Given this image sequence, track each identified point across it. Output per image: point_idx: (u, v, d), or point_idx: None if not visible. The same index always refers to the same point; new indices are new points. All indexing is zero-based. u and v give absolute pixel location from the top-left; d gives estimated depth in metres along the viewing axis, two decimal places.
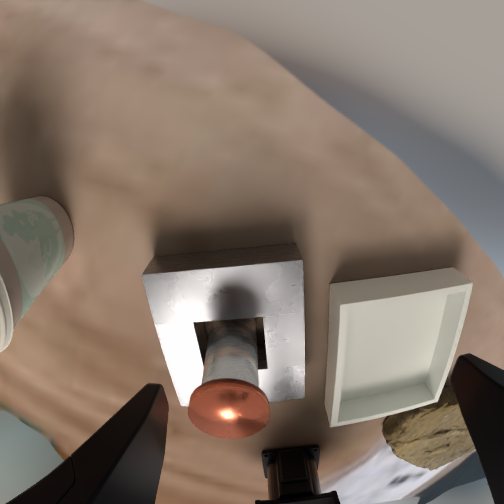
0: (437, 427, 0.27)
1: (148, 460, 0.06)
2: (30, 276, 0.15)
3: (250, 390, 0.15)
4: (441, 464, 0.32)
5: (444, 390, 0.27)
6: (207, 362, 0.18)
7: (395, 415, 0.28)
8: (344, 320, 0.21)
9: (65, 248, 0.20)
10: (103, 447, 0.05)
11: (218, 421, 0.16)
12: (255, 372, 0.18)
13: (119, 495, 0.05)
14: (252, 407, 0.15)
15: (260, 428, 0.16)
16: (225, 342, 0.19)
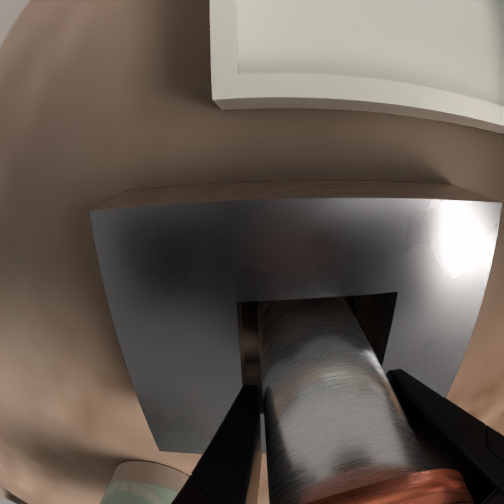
0: None
1: (258, 464, 0.06)
2: None
3: None
4: None
5: None
6: None
7: None
8: (270, 84, 0.06)
9: (156, 483, 0.14)
10: (227, 458, 0.05)
11: None
12: (321, 417, 0.05)
13: None
14: None
15: None
16: None
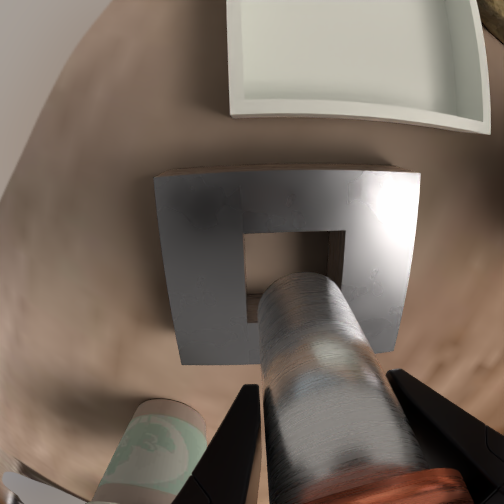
0: None
1: (258, 464, 0.06)
2: (151, 472, 0.15)
3: None
4: None
5: None
6: None
7: (491, 26, 0.11)
8: (262, 105, 0.12)
9: (172, 415, 0.20)
10: (228, 458, 0.05)
11: None
12: (321, 416, 0.05)
13: None
14: None
15: None
16: (263, 408, 0.08)
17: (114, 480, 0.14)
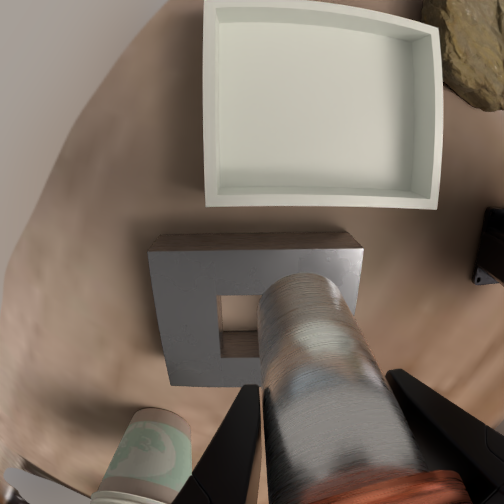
0: (489, 25, 0.12)
1: (258, 464, 0.06)
2: (146, 468, 0.19)
3: None
4: None
5: (424, 11, 0.14)
6: None
7: (459, 91, 0.16)
8: (231, 200, 0.16)
9: (163, 422, 0.24)
10: (228, 458, 0.05)
11: None
12: (320, 418, 0.05)
13: None
14: None
15: None
16: None
17: (116, 474, 0.18)
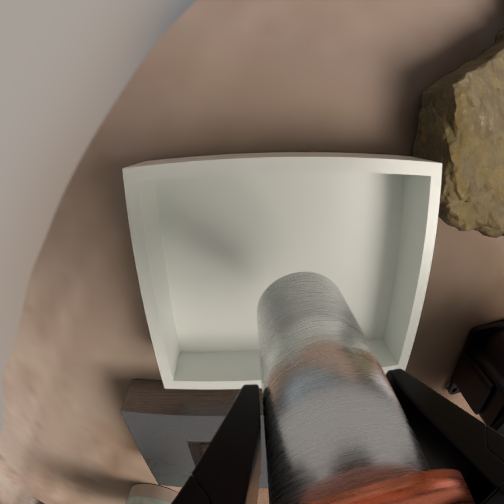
0: None
1: (258, 464, 0.06)
2: None
3: None
4: None
5: (423, 118, 0.13)
6: None
7: None
8: (187, 385, 0.15)
9: (157, 497, 0.23)
10: (228, 458, 0.05)
11: None
12: (321, 417, 0.05)
13: None
14: None
15: None
16: (263, 409, 0.08)
17: None
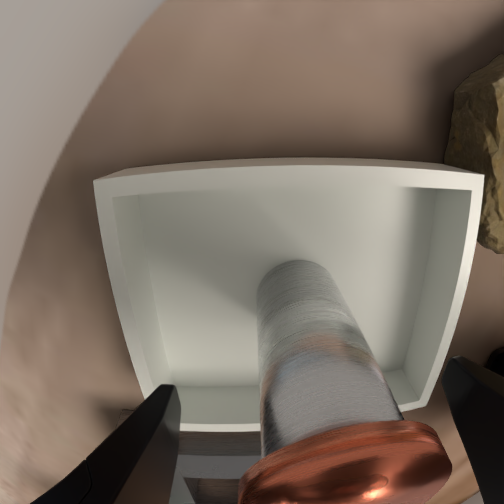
0: None
1: (163, 462, 0.06)
2: None
3: (260, 486, 0.04)
4: None
5: (457, 122, 0.10)
6: None
7: None
8: (181, 426, 0.13)
9: None
10: (119, 450, 0.05)
11: None
12: (307, 377, 0.07)
13: (136, 498, 0.05)
14: (329, 490, 0.04)
15: (437, 460, 0.04)
16: None
17: None
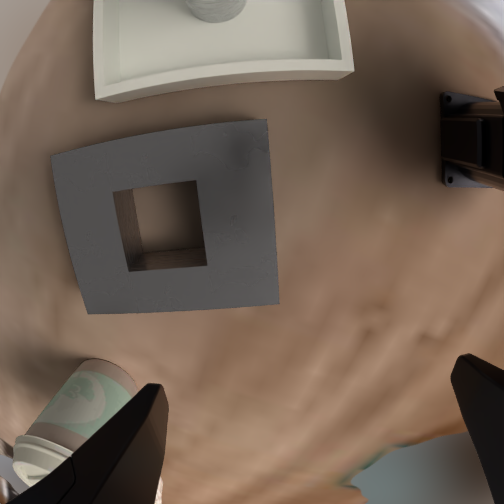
0: None
1: (148, 460, 0.06)
2: (67, 414, 0.16)
3: None
4: None
5: None
6: None
7: None
8: (117, 87, 0.14)
9: (99, 372, 0.22)
10: (103, 447, 0.05)
11: None
12: None
13: (119, 495, 0.05)
14: None
15: None
16: None
17: (38, 420, 0.15)
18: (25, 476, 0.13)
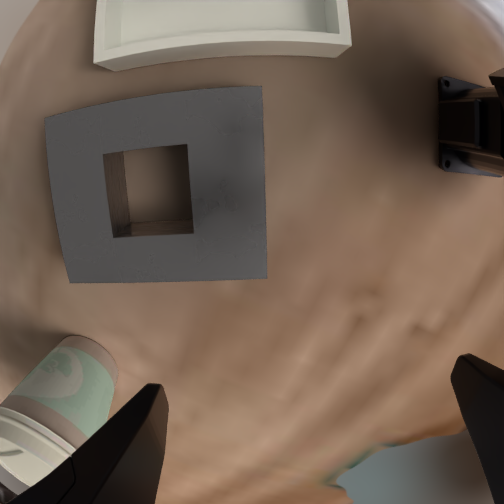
0: None
1: (148, 460, 0.06)
2: (41, 388, 0.15)
3: None
4: None
5: None
6: None
7: None
8: (115, 52, 0.13)
9: (79, 348, 0.21)
10: (103, 447, 0.05)
11: None
12: None
13: (119, 495, 0.05)
14: None
15: None
16: None
17: (12, 393, 0.14)
18: None
